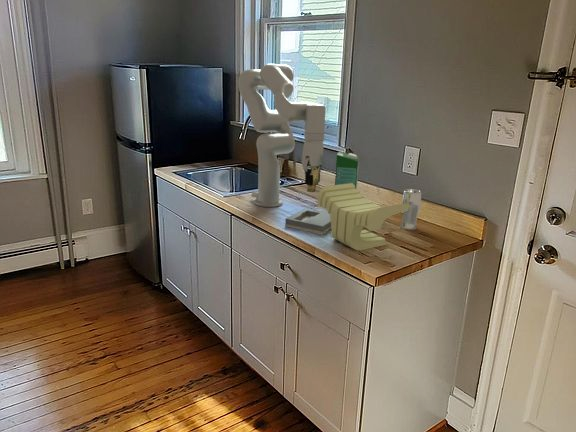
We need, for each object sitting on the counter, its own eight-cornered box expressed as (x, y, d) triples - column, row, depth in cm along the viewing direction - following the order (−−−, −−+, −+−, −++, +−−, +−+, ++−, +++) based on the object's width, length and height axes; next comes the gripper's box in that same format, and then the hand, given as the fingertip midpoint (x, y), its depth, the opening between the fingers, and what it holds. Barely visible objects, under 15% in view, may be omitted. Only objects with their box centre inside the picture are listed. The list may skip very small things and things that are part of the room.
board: (285, 226, 186) (285, 218, 185) (304, 216, 199) (304, 208, 198) (322, 234, 179) (322, 226, 178) (339, 223, 192) (340, 215, 191)
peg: (302, 191, 188) (303, 168, 186) (308, 188, 193) (309, 166, 190) (314, 193, 186) (315, 170, 183) (320, 190, 190) (321, 168, 188)
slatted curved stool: (315, 232, 180) (318, 187, 175) (349, 226, 188) (352, 182, 183) (367, 260, 156) (372, 208, 150) (403, 252, 164) (409, 202, 158)
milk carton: (354, 213, 205) (358, 155, 198) (333, 211, 207) (336, 154, 199) (355, 207, 214) (359, 152, 206) (335, 205, 215) (338, 150, 208)
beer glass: (407, 231, 185) (411, 194, 180) (395, 226, 191) (399, 189, 186) (421, 229, 188) (425, 192, 184) (409, 223, 194) (413, 188, 189)
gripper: (315, 134, 192) (313, 178, 197) (295, 138, 177) (293, 186, 183) (332, 135, 188) (330, 180, 194) (313, 140, 174) (311, 188, 179)
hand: (312, 182), depth 188 cm, fingers closed on peg, 5 cm apart
